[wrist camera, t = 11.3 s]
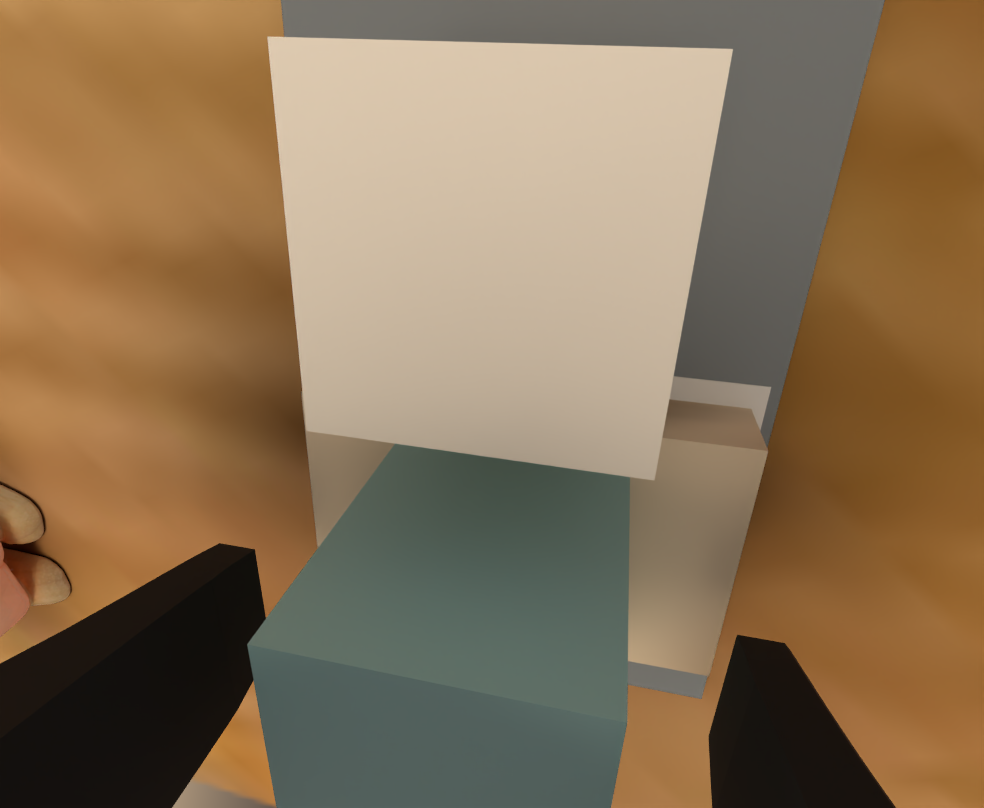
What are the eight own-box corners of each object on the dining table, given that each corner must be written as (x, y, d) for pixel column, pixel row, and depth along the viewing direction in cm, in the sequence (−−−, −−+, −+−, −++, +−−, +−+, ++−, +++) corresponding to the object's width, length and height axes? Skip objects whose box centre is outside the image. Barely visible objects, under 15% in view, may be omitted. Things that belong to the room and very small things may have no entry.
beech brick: (751, 408, 11) (768, 450, 10) (700, 617, 13) (708, 676, 12) (338, 361, 13) (300, 392, 11) (353, 556, 15) (323, 603, 13)
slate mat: (883, -22, 9) (892, -26, 8) (699, 688, 15) (701, 699, 14) (287, -23, 10) (278, -27, 10) (344, 619, 16) (338, 628, 16)
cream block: (685, 81, 9) (733, 49, 5) (646, 334, 11) (654, 480, 7) (430, 72, 10) (266, 35, 6) (430, 312, 12) (306, 430, 7)
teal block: (630, 463, 10) (626, 722, 6) (602, 638, 12) (585, 943, 8) (403, 432, 11) (246, 644, 7) (407, 603, 13) (286, 862, 8)
